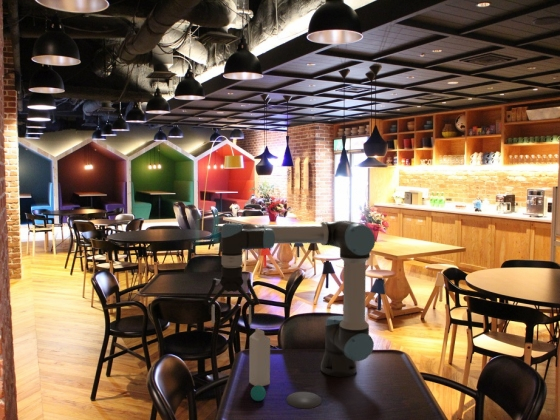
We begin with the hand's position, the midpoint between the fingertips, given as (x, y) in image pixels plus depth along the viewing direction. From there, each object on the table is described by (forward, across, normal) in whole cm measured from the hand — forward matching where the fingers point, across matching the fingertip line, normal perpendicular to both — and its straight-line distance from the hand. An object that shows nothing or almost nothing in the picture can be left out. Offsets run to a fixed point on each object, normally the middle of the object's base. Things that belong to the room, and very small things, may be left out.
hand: (231, 323), depth 181 cm
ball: (+26, +10, -1) cm, 28 cm away
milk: (+29, +10, +14) cm, 34 cm away
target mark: (+29, +27, 0) cm, 39 cm away
